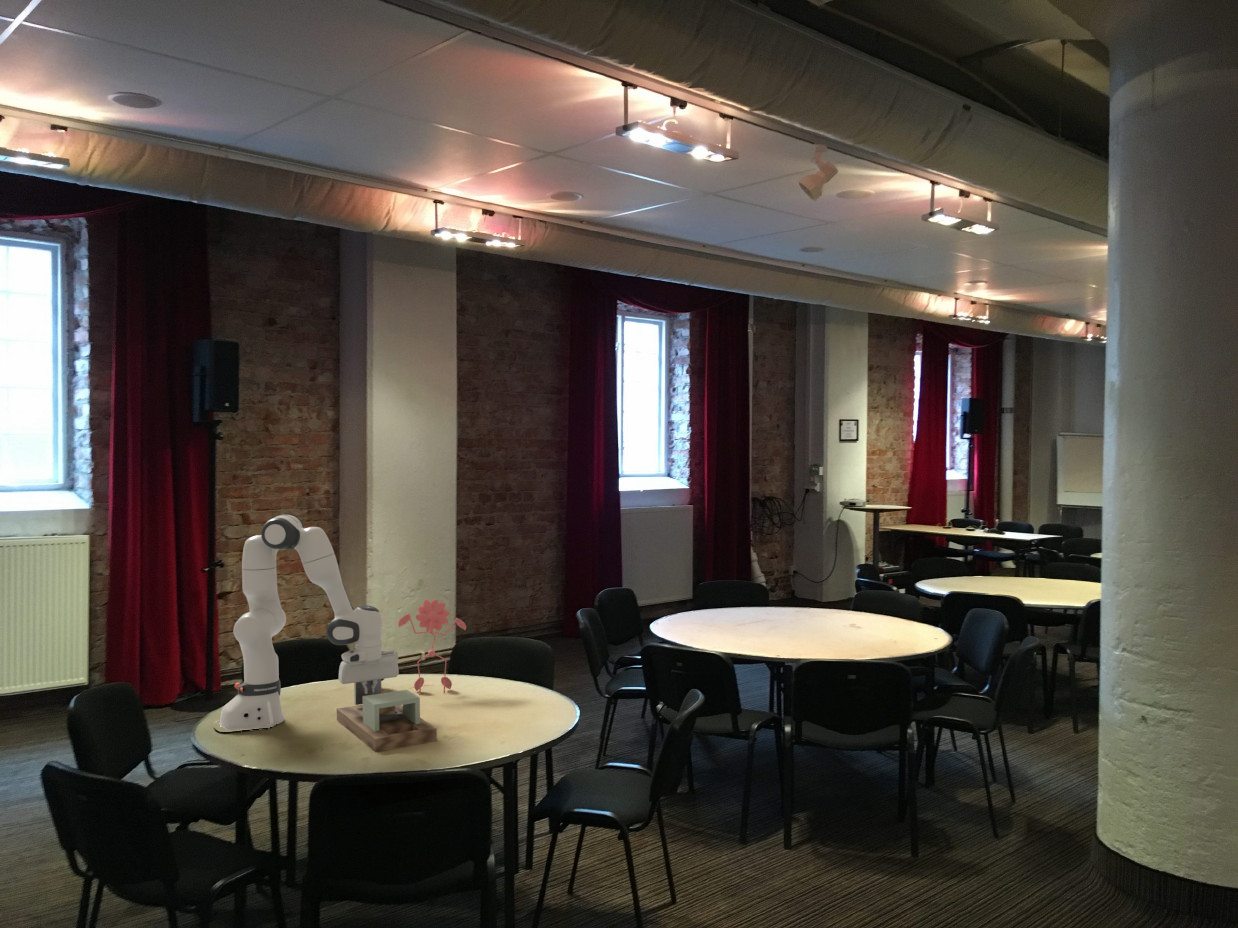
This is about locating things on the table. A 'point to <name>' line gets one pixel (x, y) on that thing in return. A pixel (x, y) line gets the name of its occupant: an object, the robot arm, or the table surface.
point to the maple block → (387, 711)
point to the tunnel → (388, 700)
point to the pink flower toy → (432, 618)
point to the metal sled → (377, 690)
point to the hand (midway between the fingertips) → (369, 693)
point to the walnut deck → (386, 730)
